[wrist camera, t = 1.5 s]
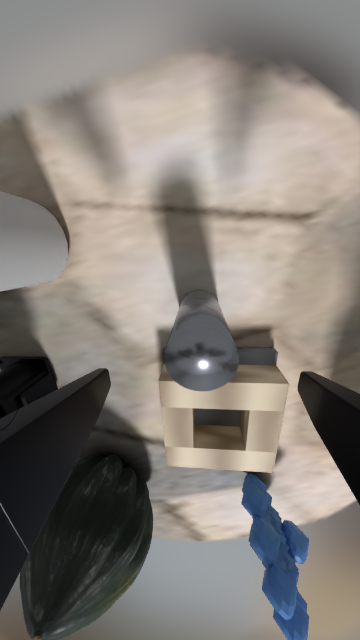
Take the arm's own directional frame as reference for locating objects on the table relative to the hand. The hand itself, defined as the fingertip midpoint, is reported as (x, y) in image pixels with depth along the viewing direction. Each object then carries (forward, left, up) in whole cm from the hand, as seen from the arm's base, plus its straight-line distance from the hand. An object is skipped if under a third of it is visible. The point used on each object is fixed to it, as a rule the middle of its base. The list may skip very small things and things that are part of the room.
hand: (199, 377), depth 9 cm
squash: (-14, -27, -12) cm, 33 cm away
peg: (0, 0, -11) cm, 11 cm away
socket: (+2, -12, -11) cm, 17 cm away
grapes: (+9, -27, -12) cm, 31 cm away
